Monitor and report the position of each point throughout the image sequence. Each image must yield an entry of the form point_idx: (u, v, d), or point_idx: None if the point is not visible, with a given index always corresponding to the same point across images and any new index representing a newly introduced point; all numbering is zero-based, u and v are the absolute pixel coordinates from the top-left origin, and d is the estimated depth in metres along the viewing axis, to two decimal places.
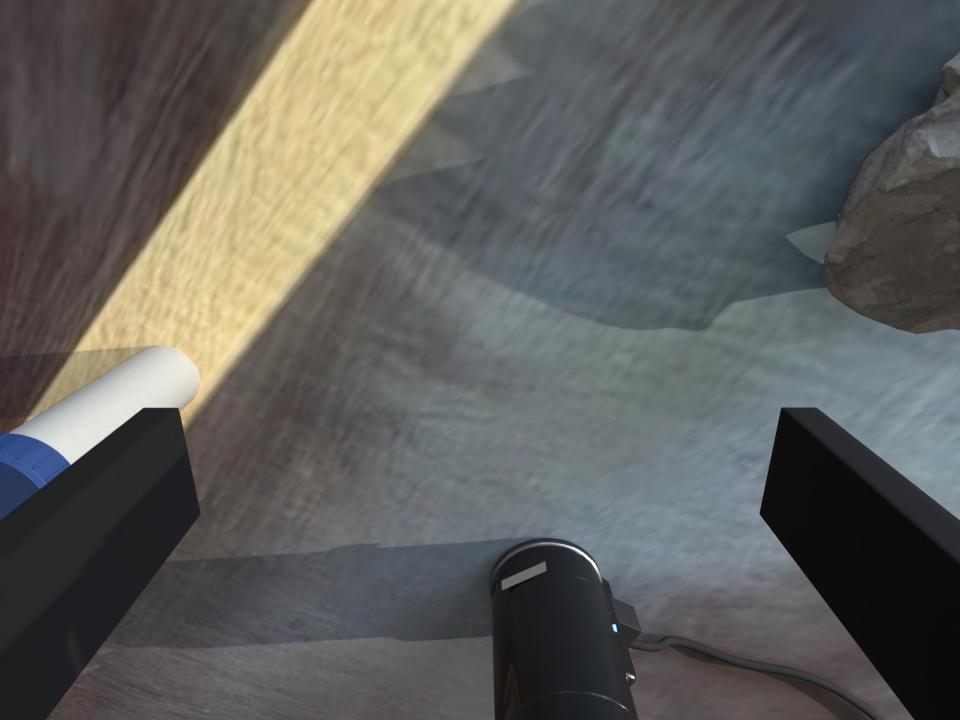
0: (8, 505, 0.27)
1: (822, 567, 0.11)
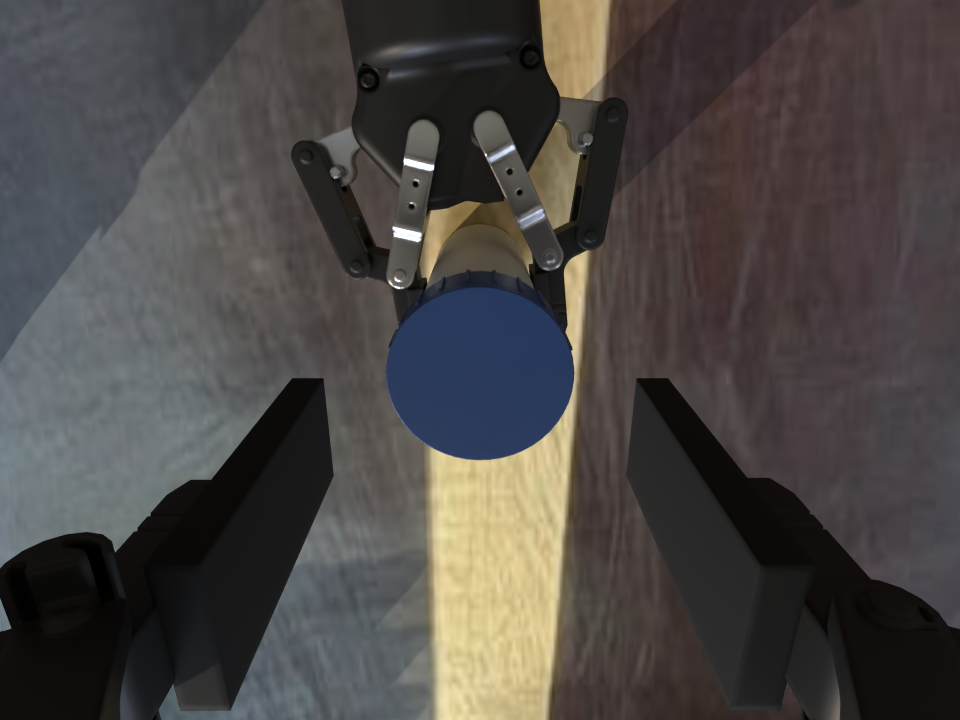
0: (461, 399, 0.17)
1: (655, 514, 0.12)
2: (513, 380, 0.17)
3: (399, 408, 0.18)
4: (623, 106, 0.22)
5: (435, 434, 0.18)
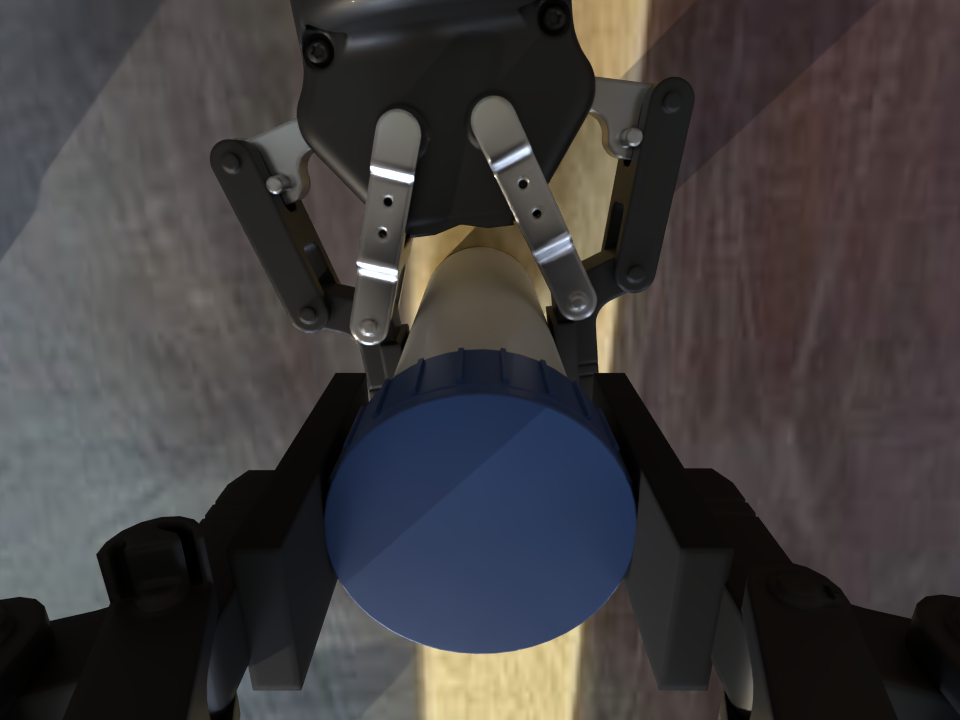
0: (449, 568, 0.11)
1: None
2: (536, 539, 0.10)
3: (347, 580, 0.11)
4: (688, 90, 0.15)
5: (407, 617, 0.11)
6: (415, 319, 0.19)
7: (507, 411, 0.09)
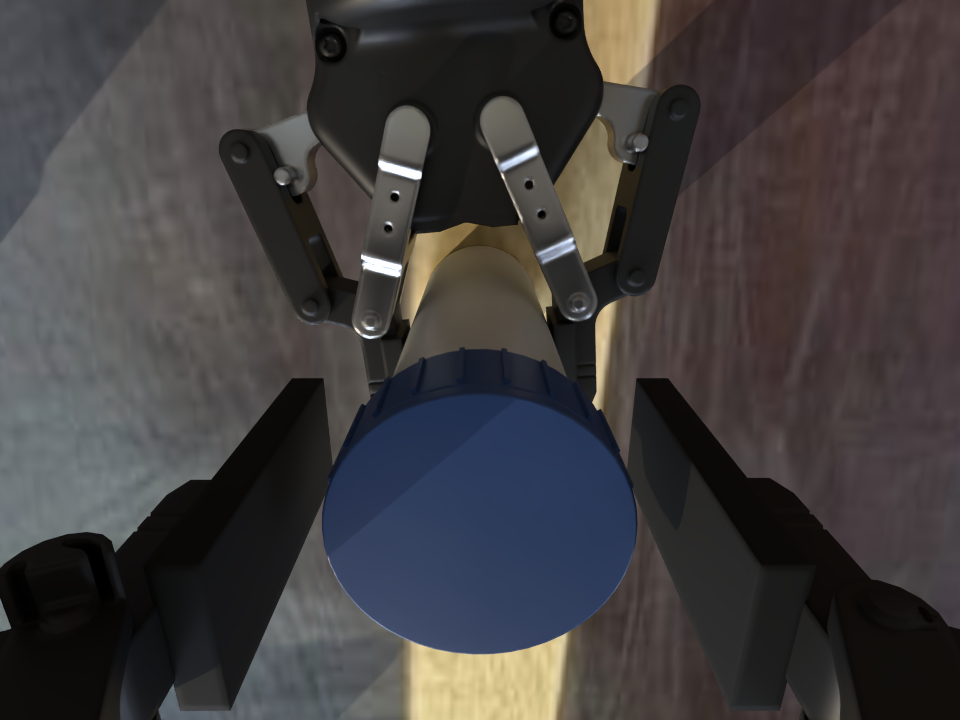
0: (512, 567, 0.11)
1: (655, 514, 0.12)
2: (492, 489, 0.10)
3: (510, 646, 0.11)
4: (694, 98, 0.16)
5: (566, 609, 0.11)
6: (416, 315, 0.19)
7: (342, 498, 0.10)
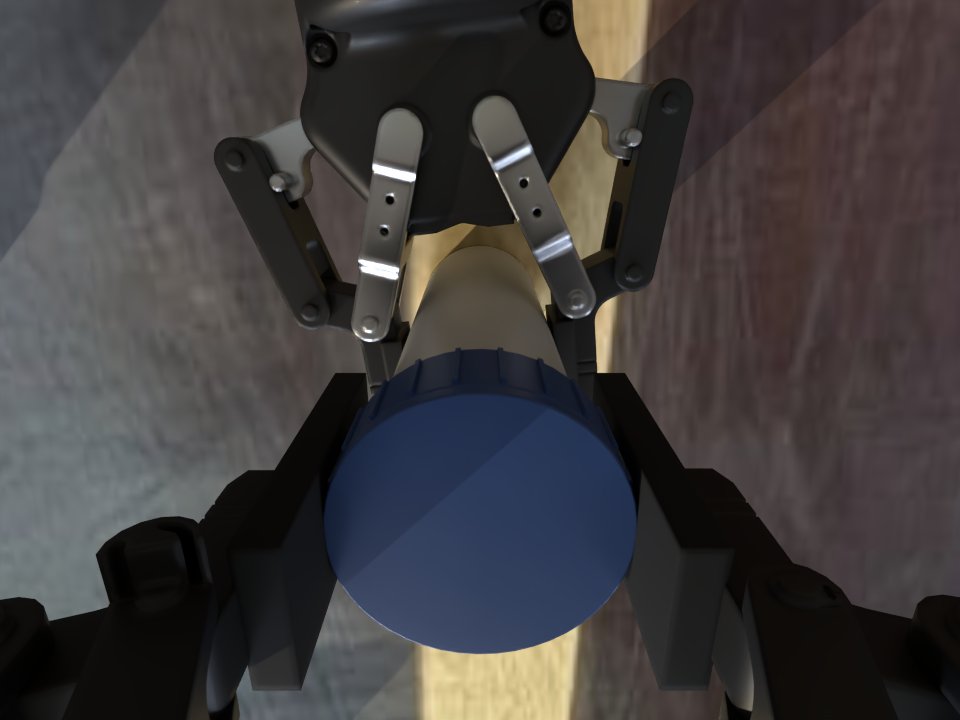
0: (513, 566, 0.11)
1: None
2: (491, 489, 0.10)
3: (514, 645, 0.11)
4: (687, 91, 0.16)
5: (570, 606, 0.11)
6: (416, 316, 0.19)
7: (341, 501, 0.10)
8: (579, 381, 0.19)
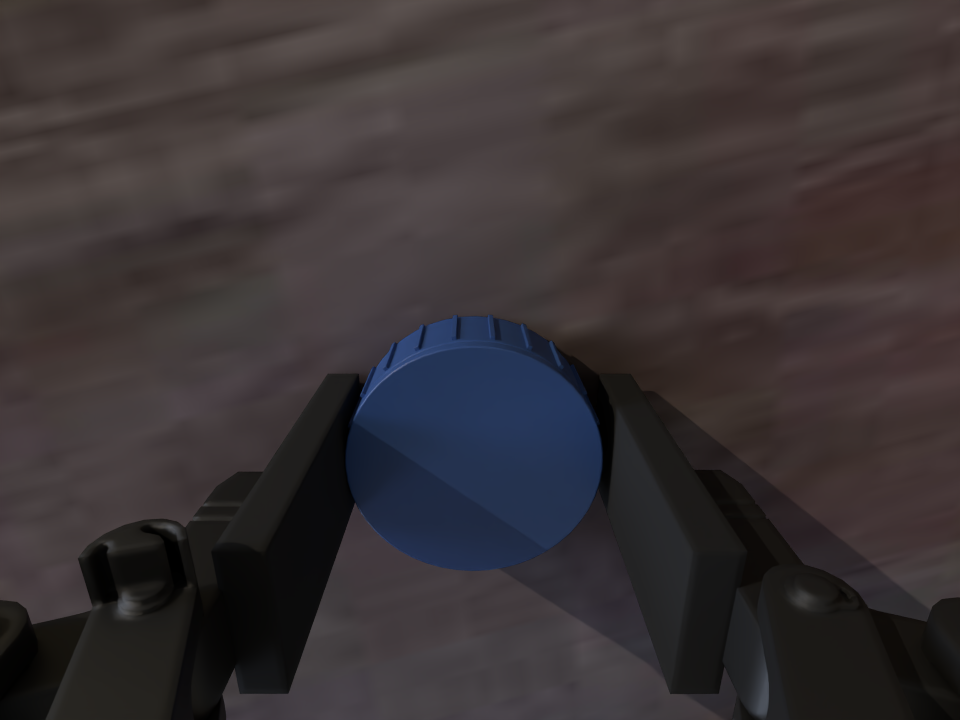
0: (502, 493, 0.13)
1: (614, 507, 0.13)
2: (483, 427, 0.12)
3: (503, 562, 0.14)
4: None
5: (549, 528, 0.13)
6: None
7: (361, 438, 0.12)
8: None
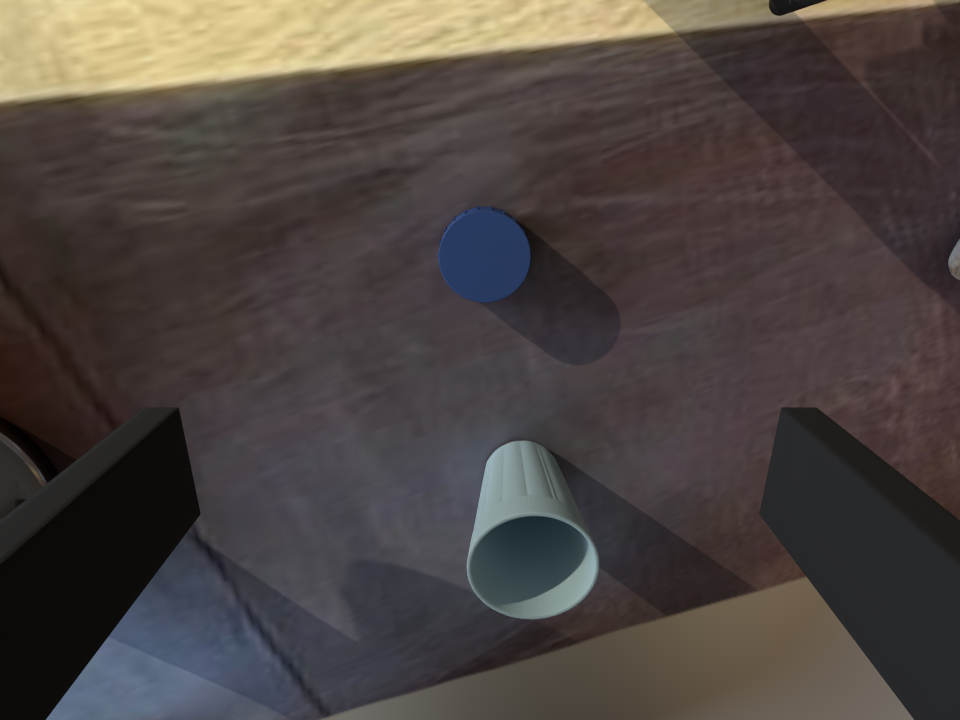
0: (494, 268, 0.35)
1: (822, 567, 0.11)
2: (487, 241, 0.35)
3: (495, 298, 0.36)
4: None
5: (512, 283, 0.36)
6: None
7: (445, 245, 0.35)
8: None
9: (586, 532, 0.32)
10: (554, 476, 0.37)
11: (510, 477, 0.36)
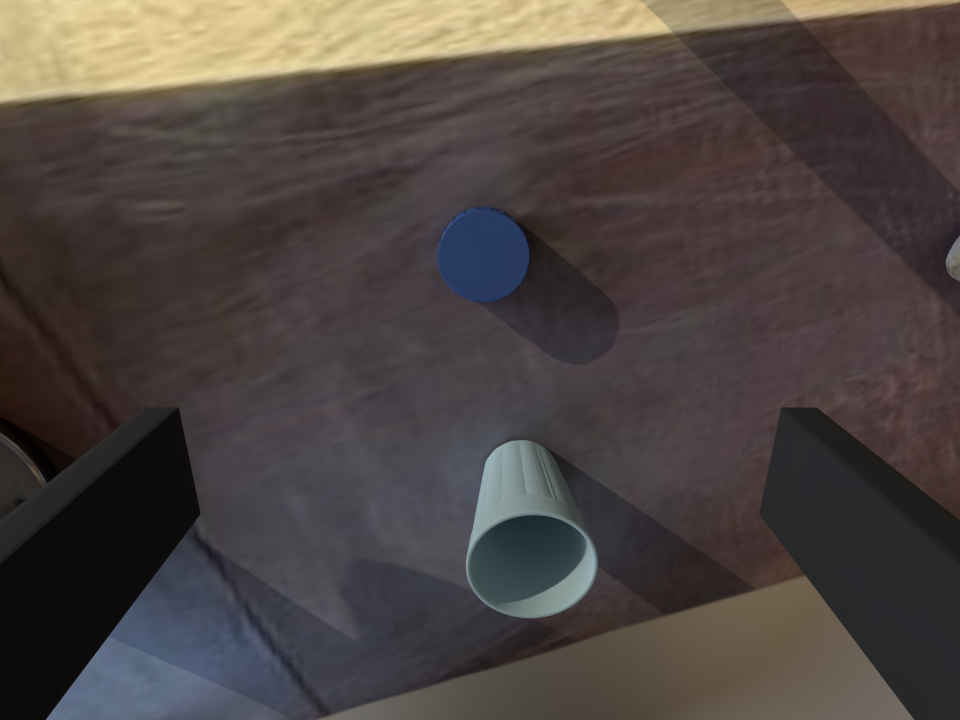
0: (493, 268, 0.36)
1: (822, 567, 0.11)
2: (486, 241, 0.35)
3: (494, 298, 0.36)
4: None
5: (510, 283, 0.36)
6: None
7: (444, 245, 0.35)
8: None
9: (585, 531, 0.33)
10: (553, 475, 0.37)
11: (509, 476, 0.37)
